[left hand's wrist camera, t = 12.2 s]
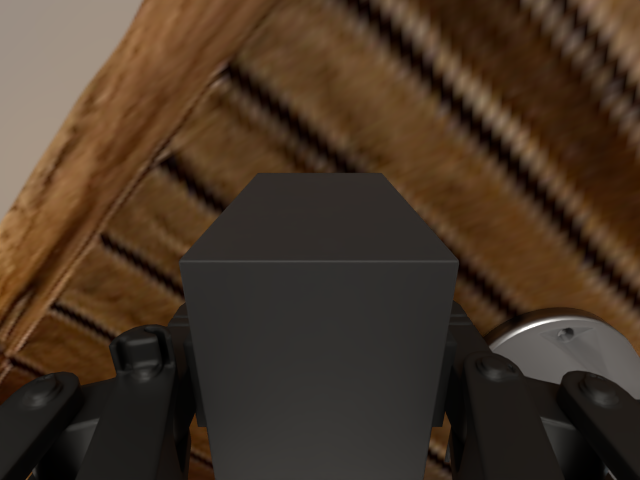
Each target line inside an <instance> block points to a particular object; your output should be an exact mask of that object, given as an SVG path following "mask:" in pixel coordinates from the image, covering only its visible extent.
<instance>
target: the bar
mask: <svg viewBox="0 0 640 480" xmlns="http://www.w3.org/2000/svg"><path fill="white" fill-rule="evenodd" d="M179 265H180V271H181V277H182V283H183V289H184V295H185V301H186V307H187V313H188V319H189V325H190V331H191V337H192V343H193V349H194V355H195V361H196V367H197V373H198V379H199V385H200V391H201V397H202V403H203V409H204V415H205V421H206V427H207V432H208V438H209V444H210V450H211V456H212V462H213V468H214V474H215V480H423V478H424V472H425V466H426V460H427V454H428V448H429V441H430V435H431V429H432V423H433V417H434V411H435V405H436V399H437V393H438V387H439V381H440V375H441V369H442V363H443V357H444V351H445V344H446V338H447V332H448V326H449V320H450V314H451V308H452V302H453V296H454V290H455V284H456V278H457V272H458V266H459V260H458V259H457V258H456V257H455V256H454V255H453V254H452V252H451V251H450V250H449V249H448V248H447V247H446V246H445V244H444V243H443V242H442V241H441V240H440V239H439V238H438V237H437V235H436V234H435V233H434V232H433V231H432V230H431V229H430V227H429V226H428V225H427V224H426V223H425V222H424V221H423V220H422V218H421V217H420V216H419V215H418V214H417V213H416V212H415V210H414V209H413V208H412V207H411V206H410V205H409V204H408V203H407V201H406V200H405V199H404V198H403V197H402V196H401V195H400V193H399V192H398V191H397V190H396V189H395V188H394V187H393V186H392V184H391V183H390V182H389V181H388V180H387V179H386V178H385V176H384V175H383V174H382V173H258V174H257V175H256V176H255V177H254V178H253V179H252V180H251V181H250V183H249V184H248V185H247V186H246V187H245V188H244V189H243V190H242V191H241V193H240V194H239V195H238V196H237V197H236V198H235V199H234V200H233V201H232V203H231V204H230V205H229V206H228V207H227V208H226V209H225V210H224V211H223V213H222V214H221V215H220V216H219V217H218V218H217V219H216V220H215V221H214V223H213V224H212V225H211V226H210V227H209V228H208V229H207V230H206V231H205V232H204V234H203V235H202V236H201V237H200V238H199V239H198V240H197V241H196V242H195V244H194V245H193V246H192V247H191V248H190V249H189V250H188V251H187V252H186V254H185V255H184V256H183V257H182V258H181V259H180V260H179Z"/></svg>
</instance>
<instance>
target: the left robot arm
mask: <svg viewBox="0 0 640 480" xmlns="http://www.w3.org/2000/svg"><path fill="white" fill-rule="evenodd" d="M109 349H110V352H111V356H112V359H113V363H114V366H115V370H116V374H117V375H116V377H115V378H112V379H108V380H104V381H100V382H95V383H91V384H86V385H82V386H81V385H80V382H79V379H78V377H77V376H76V375H74V374H73V373H69V372H57V373H51V374H48V375H45V376H42V377H39V378H37V379H35V380H33V381H31V382H29V383H27V384H25V385H24V386H22V387H21V388H20V389H18V390H17V391H16V392H15V393H13V394H12V395H11V396H10V397H9V398H8V399H7V400H6V401H5V402H4V403H3V404H2V405H1V406H0V480H26V478H27V477H28V476H29V474H30V473H31V472H33V473H32V475H31V476H30V477H29V479H28V480H188V470H189V460H190V449H191V436H190V430H189V426H190V424H191V421H192V419H193V416H194V414H195V413H196V418H197V424H198V427H206V421H205V415H204V409H203V403H202V397H201V391H200V385H199V379H198V373H197V367H196V361H195V355H194V349H193V343H192V337H191V331H190V325H189V319H188V313H187V307H186V303H184V304H183V305H181V306H180V307H179V309H178V310H177V312H176V313H175V315H174V317H173V318H172V319H171V321H170V322H169V323H168V326H166V327H165V326H161V325H157V324H155V325H143V326H139V327H135V328H132V329H130V330H128V331H126V332H123V333H122V334H121V335H119V336H118V337H116V338H115V339H114V340H113V341H112V343H111V344H110V345H109ZM445 412H446V414H447V417H448V419H449V421H450V424H451V430H450V435H449V440H448V445H447V450H446V456H445V462H449V461H450V459H451V469H452V479H453V480H640V358H639V356H638V355H637V353H636V352H635V350H634V349H633V347H632V345H631V344H630V342H629V341H628V340H627V339H626V338H625V337H624V336H623V335H622V334H621V333H620V332H618V331H617V330H616V329H614V328H613V327H612V326H611V325H609V324H608V323H607V322H605V321H604V320H603V319H601V318H600V317H598V316H596V315H594V314H592V313H589V312H586V311H583V310H578V309H573V308H547V309H540V310H536V311H531V312H528V313H525V314H522V315H519V316H517V317H514V318H512V319H510V320H508V321H506V322H504V323H503V324H501V325H499V326H498V327H496V328H495V329H493V330H492V331H491V332H489V333H488V334H487V335H486V336H485V337H484V338H482V336H481V335H480V333H479V332H478V330H477V329H476V327H475V326H474V325H473V323H472V322H471V320H470V319H469V317H467V314H466V313H465V311H464V310H463V309H462V307H461V306H460V305H459V304H458V303H456V302H455V301H453V302H452V308H451V314H450V320H449V326H448V332H447V338H446V344H445V351H444V357H443V363H442V369H441V375H440V381H439V387H438V393H437V399H436V405H435V411H434V417H433V423H432V427H442V425H443V420H444V414H445Z"/></svg>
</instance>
